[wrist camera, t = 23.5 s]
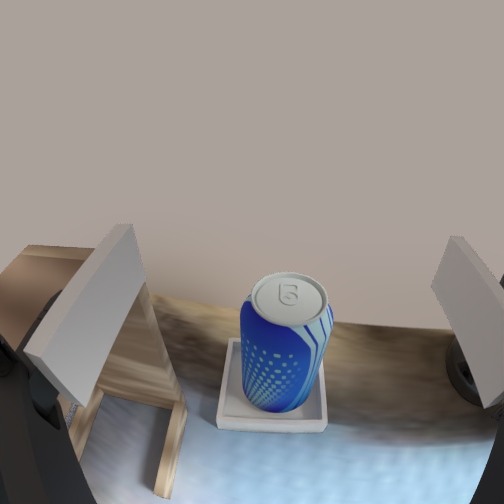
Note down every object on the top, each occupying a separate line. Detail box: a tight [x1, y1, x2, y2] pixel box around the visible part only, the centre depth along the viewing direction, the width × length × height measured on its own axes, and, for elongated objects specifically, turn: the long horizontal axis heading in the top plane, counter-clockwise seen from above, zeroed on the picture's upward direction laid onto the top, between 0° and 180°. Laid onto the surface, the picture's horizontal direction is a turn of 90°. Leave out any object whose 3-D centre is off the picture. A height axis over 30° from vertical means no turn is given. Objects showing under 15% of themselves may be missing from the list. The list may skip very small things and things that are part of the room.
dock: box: [0, 245, 188, 499], centre depth 20 cm, size 14×13×22 cm
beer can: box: [240, 272, 333, 413], centre depth 28 cm, size 8×8×16 cm
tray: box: [216, 338, 328, 433], centre depth 32 cm, size 12×12×3 cm
